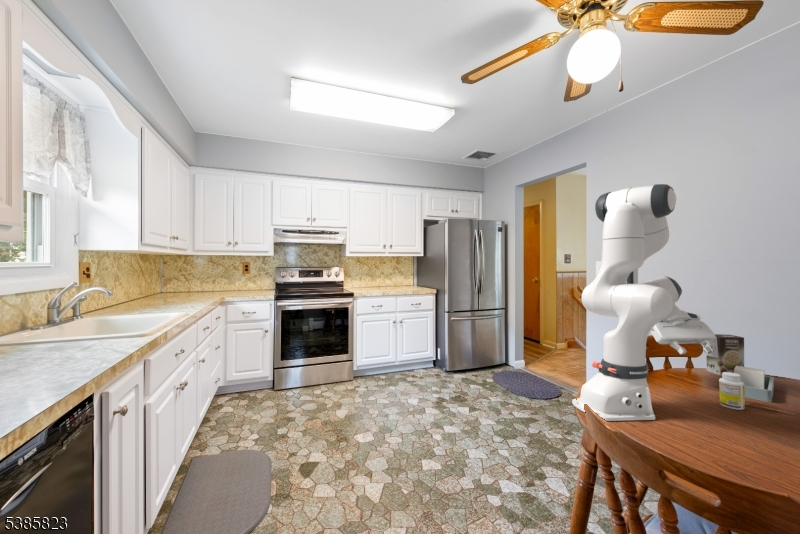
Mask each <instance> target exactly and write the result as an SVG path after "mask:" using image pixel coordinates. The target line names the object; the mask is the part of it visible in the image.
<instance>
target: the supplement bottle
mask: <svg viewBox="0 0 800 534" xmlns="http://www.w3.org/2000/svg"><path fill="white" fill-rule="evenodd" d="M740 379H741V378H740V375H739V374H735V373H730V372H723V373H722V376H721V377H720V378H719V379H718V382H719V383H718V386H719V387H718V389H719V390H718V391H719V404H720V405H721V406H722V407H725V408H727V409H730V410H731V409H732V410H738V411H742V410H745V409H746V402H745V400H746V397H745V390H744V383H743V382H742V381H740Z"/></svg>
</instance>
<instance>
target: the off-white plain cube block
mask: <svg viewBox="0 0 800 534" xmlns="http://www.w3.org/2000/svg"><path fill="white" fill-rule="evenodd" d="M765 372H766V371H765V369H760V368H754V367H747V366H744V367H742V366H736V367H735V369H734V373H735V374H739V375H740V378H741V379H740V381H742V382H743V383H744V386H749V387H754V388H760V389H765V376H766V373H765Z"/></svg>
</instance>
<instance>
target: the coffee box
mask: <svg viewBox="0 0 800 534" xmlns="http://www.w3.org/2000/svg"><path fill="white" fill-rule="evenodd" d="M714 334H715V333H714ZM710 347H711V349H712V350H713V352H712V353H706V371H707V372H709V373H712V374H714V375H717V376H721V377H722V373H723V372H728V371H729V370H733V371H734V369H735V367H736V366H742V367H745V337H743V336H738V335H734V334H723V333H722V334H721V333H720V334H719V333H718V334H715V339H714V340H713V341H712V342H710Z"/></svg>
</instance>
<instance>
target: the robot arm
mask: <svg viewBox="0 0 800 534" xmlns="http://www.w3.org/2000/svg"><path fill="white" fill-rule="evenodd" d="M676 195H677V194H676V193H675V190H674V188H673V187H672V186H670V185H669V184H666V183H658V184H653V185H644V186H643V185H642V186H636V187H628V188H622V189H618V190H615V191H609V192H605V193H603V194H600V195H599V197H598V198H597V199H596V201H595V205H594V206H595V207H594V208H595V210H594V211H595V215H596V217H597V218H598V219H599V221H601V222H603V225H602V235H601V236H602V238H601V239H602V240H601V242H602V243H601V245H602V247H601V262H600V267H599V270H598V272H597V274H596V276H595V278H594V279H593V281H591V282H590V283H589V284H588V285H586V286H585V287H584V289H583V291H582V293H581V303H582V306H583V307H584V308H585V310H587V311H588V312H592V313H594V314H597V315H600V316H606V317H613V318H618V324H617V326H616V328H614V329H611V330H609V331H606V332H605V334H603V338H602V350H603V351H602V354H603V355H602V359H601V361H600V362H599V361H594V360H593V361H592V362H591V367H592V368H596V369H598V372H597V373H595V374H594V375H593V376H592V377H591V378H589V379H588V380H587V381H586V382H585V383H584V384H582V385H581V389H580V394H579V395H580V396H579V397H577V400H576V398H573V399H572V401H571V403H572V405H573V406H574V407H575V408H577V409H578V410H580V411H582V412H583V413H585V410H584V404H587V405H588V406H589V407H590V408H591V409H592V410H593V411H594V412H595V413H597V414H598V415H599V416H600V417H602V418H603V419H605V420H604V421H606V422H607V421H608V422H609V421H610V422H611V421H612V422H616V421H619V422H620V421H621V422H622V421H655V420H656V415H655V413H654V410H653V409H654V408H653V406H652V398H651V392H650V387H649V385H648V381H647V378H648V377H649V368H648V364H647V363H646V359H647V358H646V357H647V356H646V351H647V341H648V338H649V337H648V336H649V334H651V335H652V336H653V338H654V340H655V341H656V343H658V344H659V345H669V346H670V347H671V348H672V349H675V350H676V351H677V353H679V355H685V354H686V353H688V350H686V348H685V347H684V346H683V347H682V346H681V345H680V344H686V345H687V344H700V345H701V346H703V349H702V351H703V352H704V354H707V353H712V352H713V350H712V349H711V347H710V342H712V341H713V340H714V339H715V333H714V331H713V330H712V329H711V328H710V327H709V325H707V323H705V322H704V321H702V320H701V317H700V315H699V314H696V313H692V312H688V311H685V310H681V309H680V308H679V307H678V306H677V305H676V303H677V302H678V301H679V299H680V297H681V296H682V294H683V293H682V292H683V290H682V287H681V286H680V284H679V282H677V280H676V279H674V278H672V277H669V276H665V275H664V276H660V277H656V278H653V279H650V280H646V281H643V282H639V269H640V268H641V267H642V266H643V264H644V263H645V261H646V260H647V259H649V258H650V257H652V256H653V255H655V254H657V253H659V251H661V250H662V249H664V247H665V246H666V245H667V244H668V242H669V240H670V230H669V224H668V220H667V216H669V215H670V214H671V213H673V211H674V210H675V208H676V204H677V196H676ZM650 332H651V333H650Z"/></svg>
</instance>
